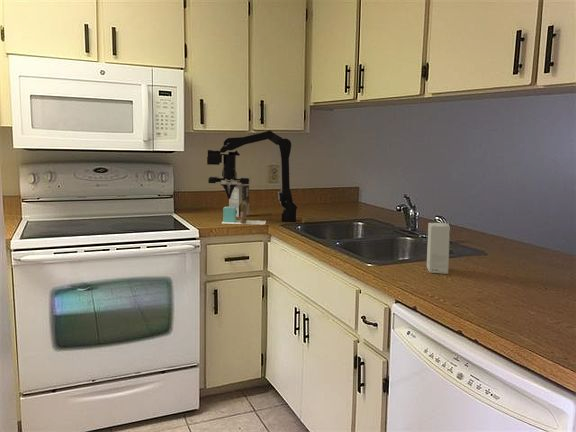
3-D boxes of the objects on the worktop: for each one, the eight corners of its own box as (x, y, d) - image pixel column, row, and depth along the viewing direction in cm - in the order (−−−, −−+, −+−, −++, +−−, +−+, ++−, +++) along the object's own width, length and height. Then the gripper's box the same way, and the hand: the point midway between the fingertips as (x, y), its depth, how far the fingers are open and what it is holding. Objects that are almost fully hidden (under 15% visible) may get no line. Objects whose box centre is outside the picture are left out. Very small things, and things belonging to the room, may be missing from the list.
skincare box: (448, 274, 154) (451, 226, 152) (428, 273, 155) (431, 225, 153) (444, 267, 162) (447, 222, 160) (425, 266, 163) (428, 221, 161)
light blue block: (235, 220, 238) (235, 206, 237) (234, 222, 233) (234, 208, 232) (224, 220, 238) (224, 206, 237) (223, 222, 233) (223, 208, 232)
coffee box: (239, 215, 260) (239, 184, 258) (249, 216, 257) (249, 184, 254) (228, 217, 252) (228, 185, 250) (238, 218, 249) (239, 186, 247)
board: (266, 222, 239) (266, 220, 239) (264, 226, 230) (264, 224, 229) (224, 221, 240) (224, 219, 240) (221, 225, 230) (221, 223, 230)
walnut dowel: (246, 224, 233) (246, 211, 232) (245, 225, 231) (245, 212, 230) (240, 224, 233) (241, 211, 232) (240, 225, 231) (240, 212, 230)
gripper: (251, 164, 239) (251, 197, 242) (212, 163, 240) (212, 196, 242) (248, 166, 228) (248, 200, 231) (208, 165, 229) (208, 199, 231)
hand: (229, 198), depth 234 cm, fingers closed
